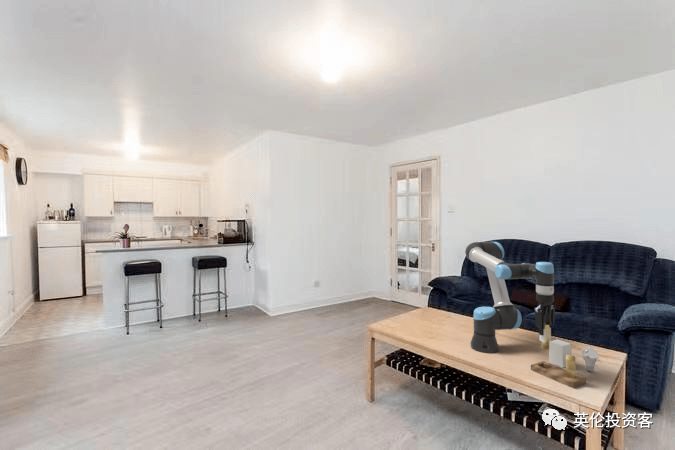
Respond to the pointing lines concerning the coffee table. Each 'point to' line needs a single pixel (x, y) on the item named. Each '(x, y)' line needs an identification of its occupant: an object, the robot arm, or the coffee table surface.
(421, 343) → the coffee table surface
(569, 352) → the block
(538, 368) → the board
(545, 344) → the pin
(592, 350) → the light bulb
